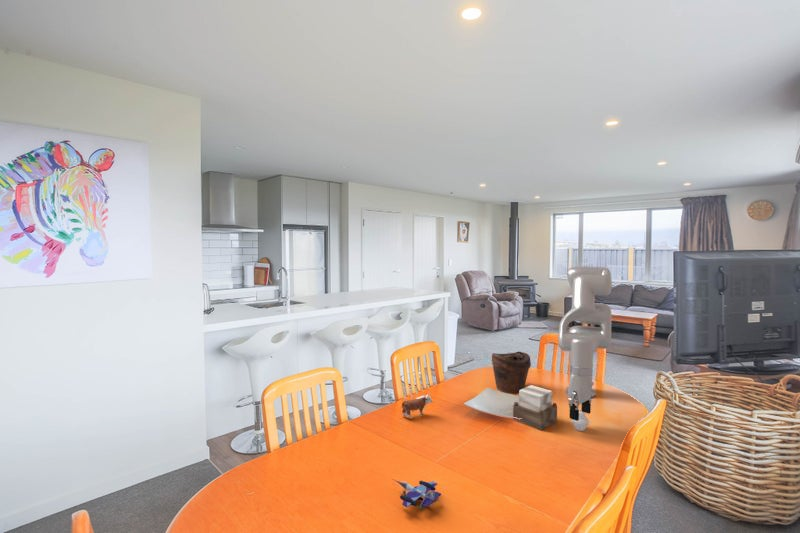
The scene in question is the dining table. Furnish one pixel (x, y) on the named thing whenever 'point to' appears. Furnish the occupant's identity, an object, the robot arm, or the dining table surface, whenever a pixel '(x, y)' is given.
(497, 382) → the brown plant pot
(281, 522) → the dining table surface
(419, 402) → the bull figurine
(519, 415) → the knobbed square box
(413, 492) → the toy airplane
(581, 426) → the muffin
